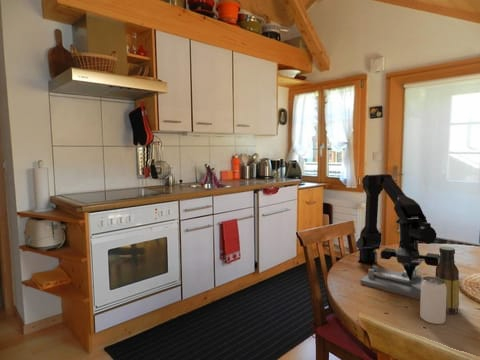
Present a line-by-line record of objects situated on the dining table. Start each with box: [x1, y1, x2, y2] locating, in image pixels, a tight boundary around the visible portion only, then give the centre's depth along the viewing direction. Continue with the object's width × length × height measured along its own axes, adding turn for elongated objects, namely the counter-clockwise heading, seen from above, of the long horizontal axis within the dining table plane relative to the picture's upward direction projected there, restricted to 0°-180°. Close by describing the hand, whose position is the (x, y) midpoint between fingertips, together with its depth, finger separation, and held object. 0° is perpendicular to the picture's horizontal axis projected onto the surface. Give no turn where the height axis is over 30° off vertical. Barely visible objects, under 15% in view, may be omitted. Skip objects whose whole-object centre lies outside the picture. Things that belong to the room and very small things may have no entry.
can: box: [419, 276, 447, 325], centre depth 94 cm, size 6×6×12 cm
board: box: [360, 264, 424, 301], centre depth 119 cm, size 22×17×4 cm
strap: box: [374, 271, 411, 283], centre depth 120 cm, size 14×3×1 cm, turn 48°
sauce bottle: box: [434, 245, 460, 315], centre depth 99 cm, size 6×6×20 cm
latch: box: [402, 266, 419, 279], centre depth 121 cm, size 4×6×4 cm, turn 138°
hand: (410, 279), depth 116 cm, fingers closed, pressing on strap
